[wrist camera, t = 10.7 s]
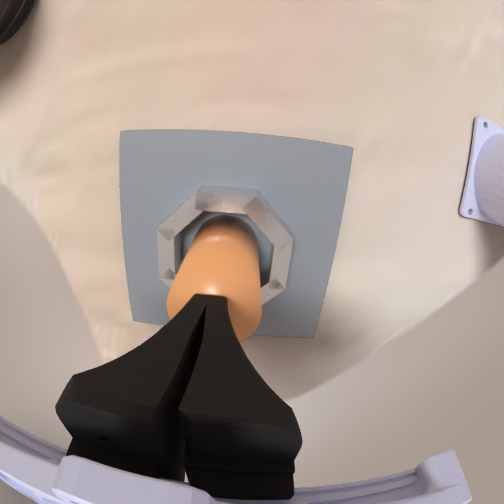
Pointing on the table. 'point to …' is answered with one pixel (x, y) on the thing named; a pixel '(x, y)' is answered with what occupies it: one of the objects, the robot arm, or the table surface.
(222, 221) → the plug
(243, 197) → the ring socket
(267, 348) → the table surface
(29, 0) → the camera lens
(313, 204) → the base plate
